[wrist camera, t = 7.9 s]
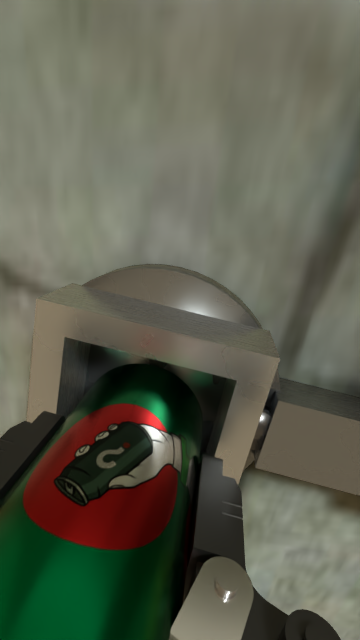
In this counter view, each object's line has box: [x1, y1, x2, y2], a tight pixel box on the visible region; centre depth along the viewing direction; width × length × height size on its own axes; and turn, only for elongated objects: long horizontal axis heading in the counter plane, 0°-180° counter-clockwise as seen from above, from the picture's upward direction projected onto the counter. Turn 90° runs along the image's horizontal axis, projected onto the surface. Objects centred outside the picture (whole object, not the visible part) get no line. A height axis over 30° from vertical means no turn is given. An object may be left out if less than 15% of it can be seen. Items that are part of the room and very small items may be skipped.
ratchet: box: [27, 264, 360, 496], centre depth 15 cm, size 28×12×4 cm, turn 78°
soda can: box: [0, 363, 203, 640], centre depth 9 cm, size 5×5×12 cm
